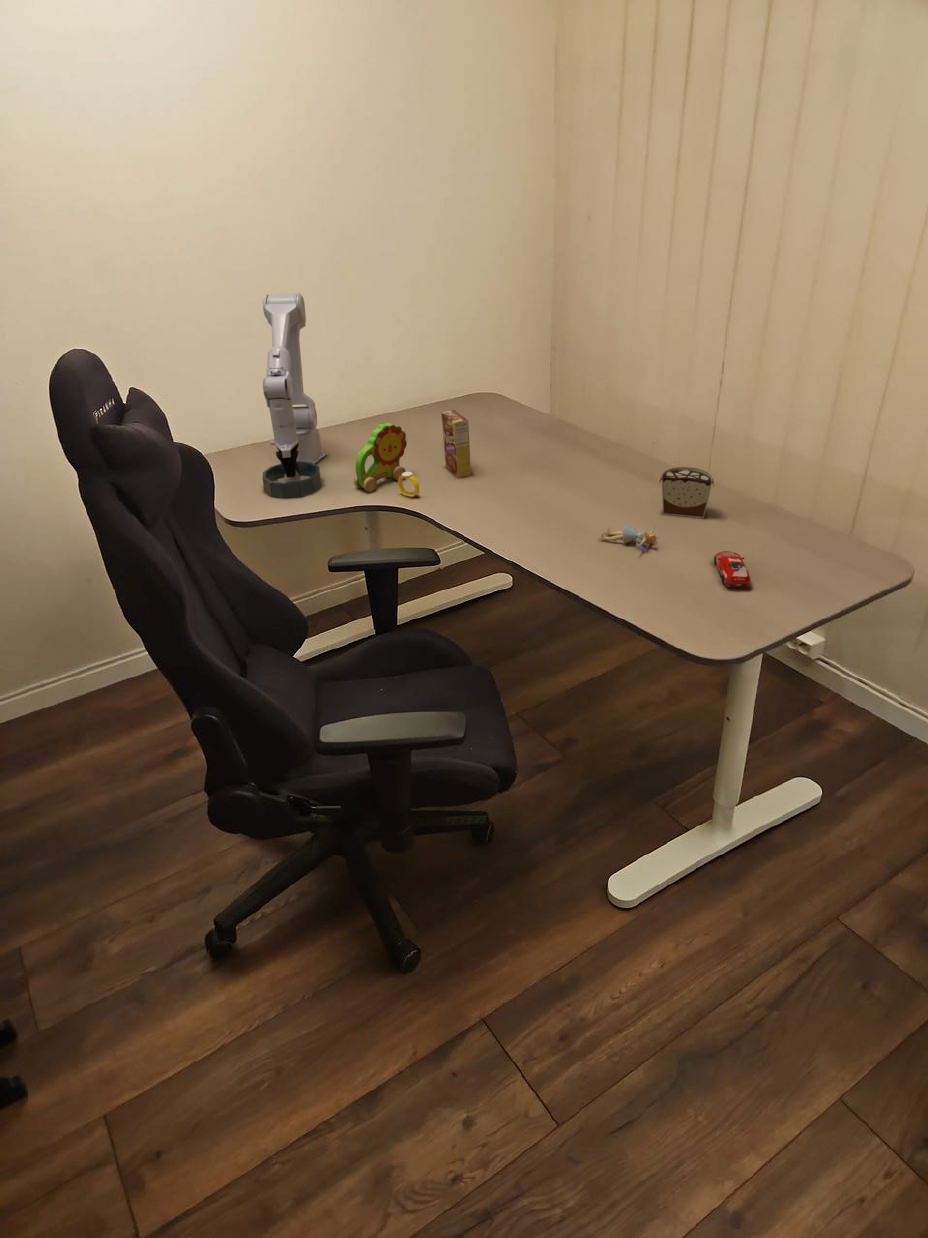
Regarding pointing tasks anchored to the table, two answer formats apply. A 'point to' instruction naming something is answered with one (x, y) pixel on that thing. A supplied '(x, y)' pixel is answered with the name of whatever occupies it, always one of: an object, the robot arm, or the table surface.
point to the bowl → (278, 488)
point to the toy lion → (381, 456)
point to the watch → (414, 480)
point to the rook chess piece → (292, 478)
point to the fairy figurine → (630, 536)
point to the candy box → (456, 443)
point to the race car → (731, 569)
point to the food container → (686, 491)
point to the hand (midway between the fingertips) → (291, 473)
